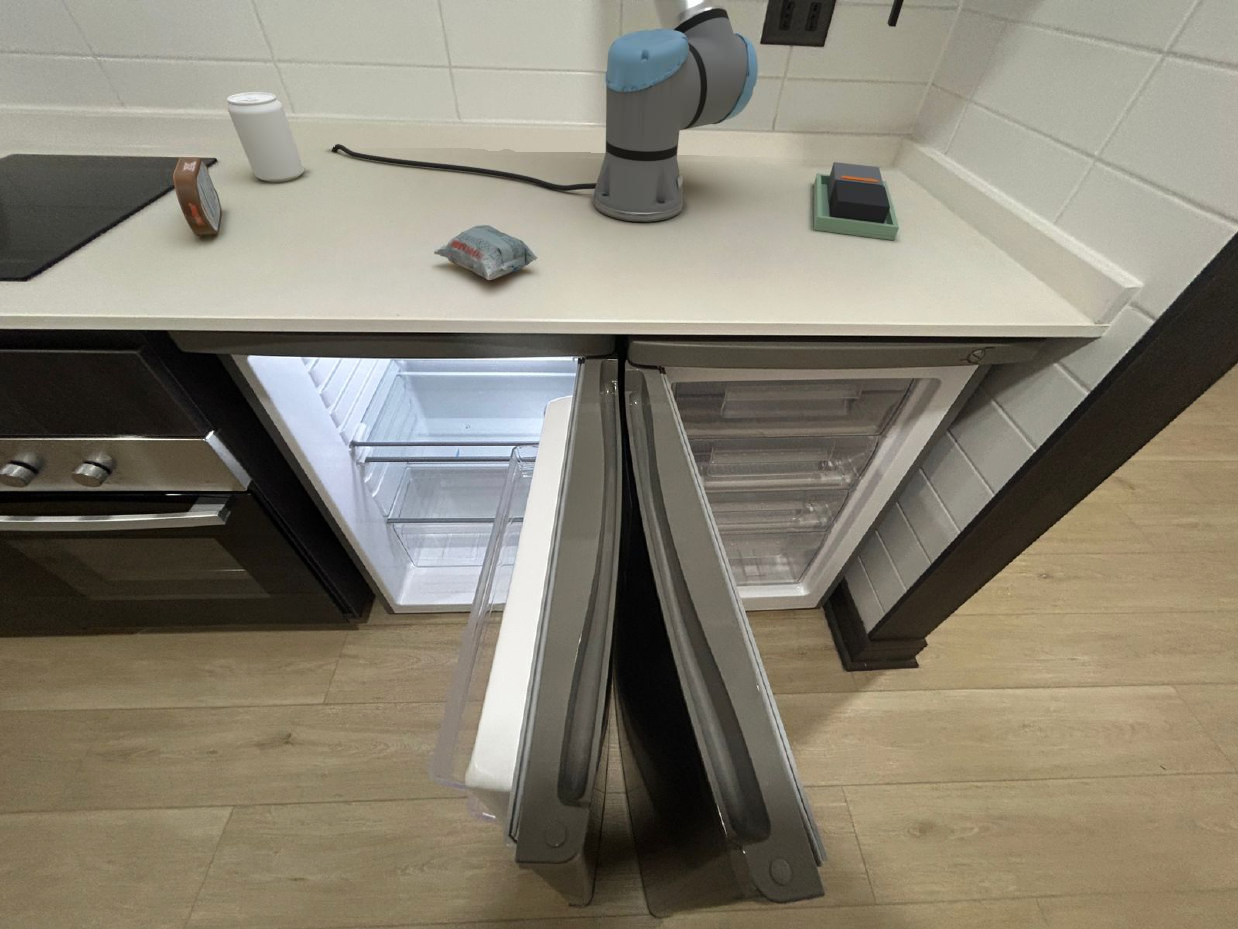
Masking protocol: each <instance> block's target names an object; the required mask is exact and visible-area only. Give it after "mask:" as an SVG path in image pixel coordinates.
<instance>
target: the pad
mask: <svg viewBox="0 0 1238 929" xmlns="http://www.w3.org/2000/svg"><path fill="white" fill-rule="evenodd" d="M829 175H830V177H829V180H828V184H827V190H828V203H830V200H831V196H832V193H833V189H834V186H835V183H836V181H844V182H852V183H861V184H869V185H878V186H883V181H884V180H883V177H882V173H881V169H880V167H879V166H873V165H864V164H854V163H847V162H838V161H833V163H832V167H831V170H830V174H829Z"/></svg>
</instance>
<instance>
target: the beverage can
mask: <svg viewBox="0 0 1238 929" xmlns="http://www.w3.org/2000/svg"><path fill="white" fill-rule="evenodd" d="M226 100H227V111H228V114H229V117H230V119H231V121H232V124H233V127H234V129H235V131H236V133H237V136H238V138H239V141H240V143H241V145H242V149H243V150H244V154H245V156H246V158H247V161H248V163H249V165H250V168H251V171H252V173H253V175H254V177H255V178H257V179H259V180H263V181H264V182H268V183H269V182H271V183H282V182H288V181H292V180H295V179H297V178H298V177H300V176H301V175H302V174H303V173H304V172H305V168H304V165H303V161H302V159H301V156H300V152H299V150H298V147H297V144H296V141H295V139H294V135H293V133H292V130H291V127H290V124H289V121H288V118H287V116H286V113H285V112H286V111H285V110H284V107H283V104H282V103H281V102H280V101H279V100H278V99H277V96H276V94H274V93H272V92H265V91H264V92H263V91H248V92H247V91H246V92H241V93H236V94H232V95H229V96H228V97H227V98H226Z"/></svg>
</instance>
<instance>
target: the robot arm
mask: <svg viewBox="0 0 1238 929" xmlns="http://www.w3.org/2000/svg"><path fill="white" fill-rule="evenodd" d="M651 2H652V5H653V8H654V12H655V14H656V17H657V20H658V24H659V26H660V28H654V29H651V30H649V29H642V30H637V31H632V32H629V33H626V34H623V35H621V36H619V37H618V38H616V39H615V40H614V41H613V42H612V43H611V44H610V46H609V48H608V49H609V50H608V53H607V62H606V72H605V75H604V78H605V85H606V87H605V88H606V89H605V91H606V92H605V93H606V94H605V99H606V100H605V102H606V103H605V105H606V106H605V152H604V158H603V160H602V163H601V164H602V165H601V167H600V171H599V174H598V177H597V181H596V182H591V183H589V182H588V183H586V182H585V183H575V184H556V183H552V182H549V181H545V180H542V179H539V178H536V177H532V176H528V175H523V174H518V173H512V172H508V171H502V170H496V169H489V168H483V167H474V166H466V165H459V164H449V163H448V164H447V163H440V162H439V163H438V162H431V161H430V162H429V161H419V160H409V159H403V158H402V159H401V158H395V157H394V158H393V157H386V156H379V155H373V154H366V153H361V152H357V151H353V150H351V149H349V148H348V147H346V146H344V145H343V144H341V143H336V144H334V145H335V147H334V145H333V146H332V149H331V153H337V152H338V151H340V150H341V151H342V152H343V153H345V154H347V155H348V156H350V157H353V158H357V159H362V160H367V161H372V162H378V163H379V162H380V163H387V164H393V165H399V166H401V165H402V166H410V167H419V168H428V169H438V170H449V171H455V172H456V171H459V172H464V173H465V172H466V173H473V174H475V173H476V174H482V175H488V176H489V175H490V176H495V177H501V178H507V179H512V180H518V181H523V182H527V183H531V184H535V185H538V186H541V187H544V188H546V189H547V188H548V189H551V190H555V191H561V192H570V191H578V190H594V193H593V204H594V207H595V208H596V209H597V210H598V211H599V212H600V213H602V214H603V215H606V216H608V217H610V218H613V219H617V220H622V221H627V222H634V223H635V222H636V223H644V222H645V223H650V222H658V221H659V222H660V221H664V220H668V219H671V218H674V217H675V216H677V215H679V214H680V213H681V211H682V210H683V207H684V189H683V183H684V181H683V175H682V174H683V173H680V169H679V168H680V167H679V162H678V149H679V140H680V139H679V138H680V132H681V131H684V130H689V129H695V128H699V127H703V126H704V127H705V126H708V125H718V124H721V123H724V122H725V121H727V120H731V119H733V118H735V117H737V116H738V115H739V114H741V113H742V112H743V111H744V110H745V108H746V107H747V106H748V104H749V103H750V100H751V99H752V97H753V94H754V87H756V84H757V80H758V73H759V64H758V56H757V52H756V49H755V47H754V45H753V43H752V41H751V40H750V39H749V38H748V37H746V36H743V34H741V33H737V32H734V30H733V27H732V23H731V20H730V17H729V14H728V11H727V9H726V8H725V7H724V6H722V5H719V4H716V3H714V2H713V0H651ZM903 4H904V0H893V3H892V7H891V9H890V13H889V15H888V19H887V26H888V27H891V28H896V27H897V23H898V20H899V16H900V14H901V11H902V8H903ZM789 5H790V0H782V2H781V9H780V14H779V19H786V18H787V15H788V14H787V13H788V8H789Z"/></svg>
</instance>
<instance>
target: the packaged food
mask: <svg viewBox="0 0 1238 929" xmlns="http://www.w3.org/2000/svg"><path fill="white" fill-rule="evenodd" d="M433 254H434V255H438V256H440V257H444V258H446V259H447V260H448V261H449V262H450V263H452V264H454V265H457V266H459V267H462V268H464V269H467V270H469V271H472V272H473V273H474V274H476V275H478V276H481V277H482V278H484V279H485V280H487V281H492V280H495V279H498V278H500V277H503V276H506V275H509V274H510V273H512V272H513V273H514V272H515V271H518V270H520V269H523V268H525V267H526V266H529V265H530V264H531V263H533V261H536V260H537V259H538V256H537V255H536V254H535V253H534V252H533V251H532V250H531V248H530V247H529V246H528V245H527V244H526V243H525V242H524V241H523V240H522V239H520V238H517V237H514V236H512V235H509V234H507V233H505V232H502V231H500V230H498V229H496V228H495V227H493V226H492V225H489V224H488V225H486V224H485V225H475V226H472V227H471V228H469V229H466V230H464V231H461V232H460V233H459V234H458V235H456V236H454V237H453V238H451V239H450V240H449V241H448V243H447V244H446V245H445V244H443V245H442V246H441V247H440V248H437V249H435V250H434V251H433Z"/></svg>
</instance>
